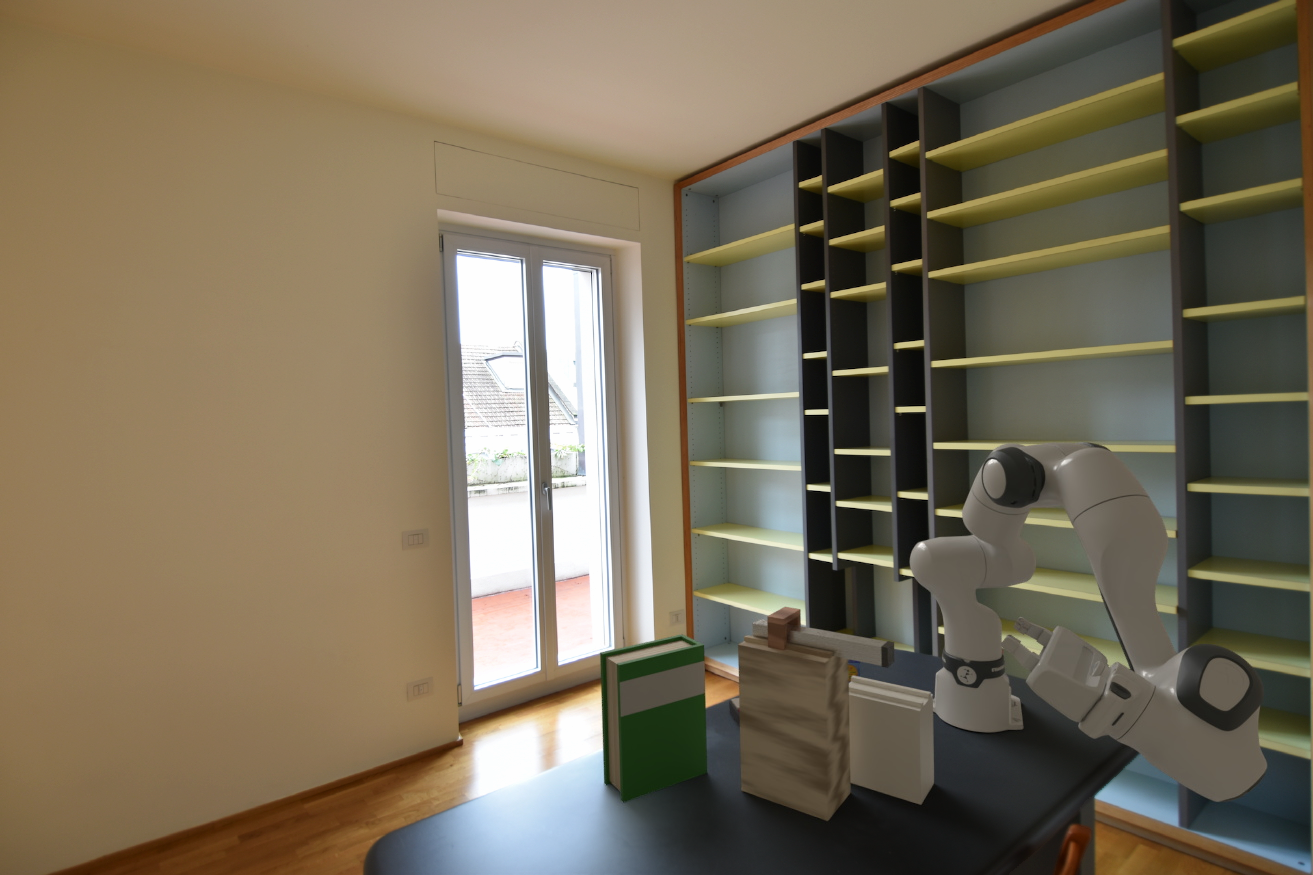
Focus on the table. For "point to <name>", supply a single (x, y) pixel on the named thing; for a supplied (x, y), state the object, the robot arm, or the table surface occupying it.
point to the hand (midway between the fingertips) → (1010, 630)
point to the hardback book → (653, 715)
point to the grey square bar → (835, 643)
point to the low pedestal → (891, 738)
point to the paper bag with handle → (793, 721)
